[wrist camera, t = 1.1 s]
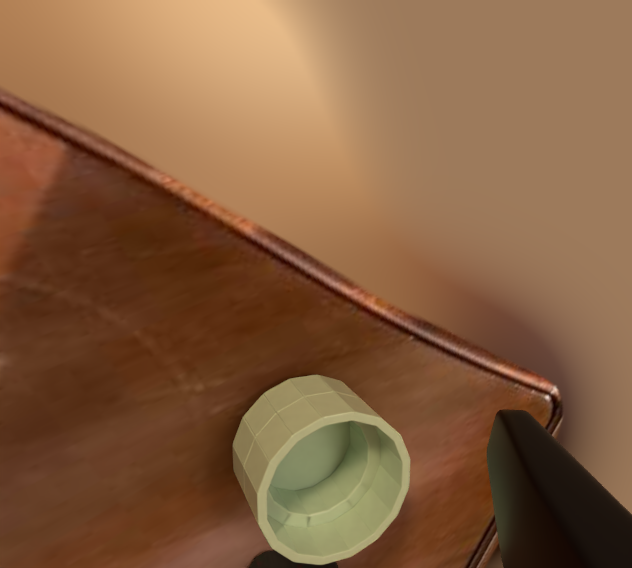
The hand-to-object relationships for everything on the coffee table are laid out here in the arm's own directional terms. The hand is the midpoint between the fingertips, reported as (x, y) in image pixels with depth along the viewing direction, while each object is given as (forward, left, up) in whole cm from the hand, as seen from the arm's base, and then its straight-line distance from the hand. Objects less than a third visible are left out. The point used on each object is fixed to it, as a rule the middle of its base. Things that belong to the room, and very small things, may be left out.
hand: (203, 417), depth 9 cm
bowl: (-10, -7, -15) cm, 20 cm away
